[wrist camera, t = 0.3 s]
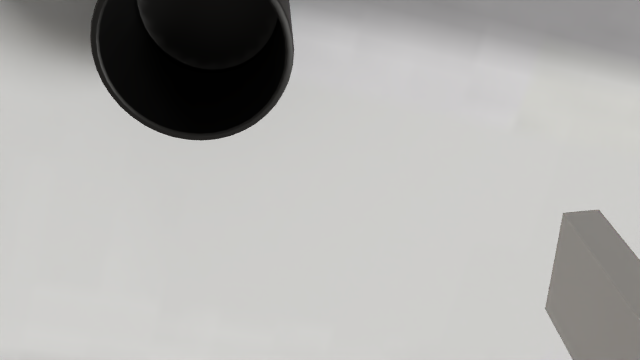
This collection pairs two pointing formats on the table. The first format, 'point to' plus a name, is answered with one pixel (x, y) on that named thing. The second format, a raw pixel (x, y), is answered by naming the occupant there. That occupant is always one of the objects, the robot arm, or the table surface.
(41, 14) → the table surface
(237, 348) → the table surface
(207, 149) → the table surface
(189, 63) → the mug
